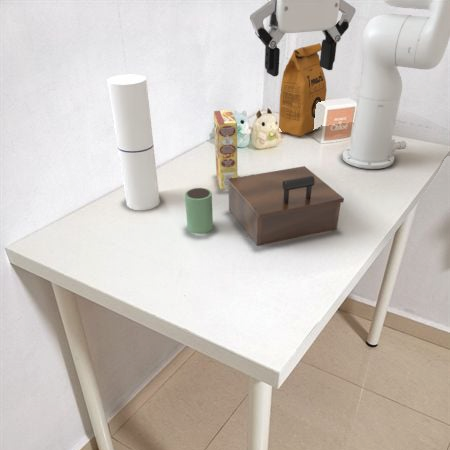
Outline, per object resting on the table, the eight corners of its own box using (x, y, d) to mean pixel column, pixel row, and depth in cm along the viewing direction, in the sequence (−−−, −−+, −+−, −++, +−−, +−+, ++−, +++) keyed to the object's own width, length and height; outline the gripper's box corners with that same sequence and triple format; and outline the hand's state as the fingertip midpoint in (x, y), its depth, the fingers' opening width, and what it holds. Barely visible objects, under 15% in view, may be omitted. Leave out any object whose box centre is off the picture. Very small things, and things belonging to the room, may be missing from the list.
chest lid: (343, 202, 87) (347, 176, 83) (259, 218, 82) (260, 191, 79) (304, 169, 98) (306, 145, 95) (228, 182, 94) (228, 157, 90)
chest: (336, 232, 91) (341, 200, 87) (256, 249, 87) (257, 216, 83) (301, 200, 102) (304, 169, 98) (228, 213, 98) (228, 182, 94)
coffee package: (327, 129, 136) (338, 44, 122) (299, 140, 130) (307, 52, 116) (301, 121, 142) (308, 39, 128) (273, 131, 135) (277, 46, 122)
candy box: (238, 191, 106) (238, 122, 96) (219, 193, 106) (217, 123, 96) (232, 175, 113) (232, 109, 103) (214, 176, 112) (212, 110, 103)
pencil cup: (208, 222, 95) (206, 185, 90) (216, 234, 92) (215, 196, 87) (184, 227, 94) (181, 189, 89) (191, 239, 90) (189, 201, 85)
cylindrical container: (126, 211, 99) (106, 85, 84) (126, 196, 105) (107, 75, 89) (160, 208, 100) (146, 83, 84) (158, 193, 106) (145, 73, 90)
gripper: (349, -64, 71) (334, 61, 81) (242, -61, 66) (241, 71, 77) (378, -63, 65) (358, 71, 76) (263, -59, 61) (259, 82, 72)
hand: (299, 71), depth 76 cm, fingers open, 9 cm apart
